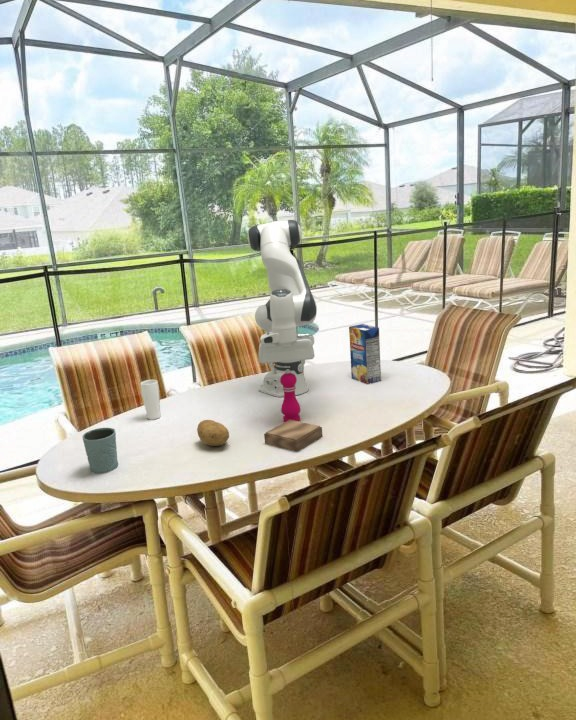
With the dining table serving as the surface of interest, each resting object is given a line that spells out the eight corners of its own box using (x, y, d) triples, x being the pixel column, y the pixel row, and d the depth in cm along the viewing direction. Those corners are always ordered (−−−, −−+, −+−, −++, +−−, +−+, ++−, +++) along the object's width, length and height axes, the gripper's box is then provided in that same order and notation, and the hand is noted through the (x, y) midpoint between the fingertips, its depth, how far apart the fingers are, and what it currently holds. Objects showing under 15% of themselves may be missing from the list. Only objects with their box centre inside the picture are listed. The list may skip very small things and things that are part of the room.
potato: (213, 455, 184) (210, 432, 182) (192, 443, 194) (189, 422, 192) (238, 445, 189) (235, 423, 187) (216, 435, 200) (213, 414, 198)
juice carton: (351, 378, 253) (348, 326, 247) (365, 375, 256) (362, 323, 250) (367, 384, 242) (364, 330, 236) (381, 380, 246) (379, 327, 240)
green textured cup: (100, 460, 187) (94, 426, 184) (127, 461, 184) (121, 427, 181) (82, 474, 177) (75, 439, 174) (109, 476, 174) (103, 440, 171)
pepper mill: (299, 424, 204) (295, 371, 199) (280, 424, 205) (275, 372, 200) (302, 417, 210) (299, 366, 205) (284, 417, 212) (279, 366, 207)
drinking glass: (166, 415, 225) (161, 379, 221) (155, 421, 219) (150, 385, 215) (152, 414, 227) (147, 378, 224) (142, 420, 222) (136, 384, 218)
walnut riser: (265, 443, 189) (263, 432, 188) (290, 429, 200) (289, 419, 199) (297, 452, 181) (296, 440, 179) (322, 436, 191) (321, 425, 190)
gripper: (313, 331, 203) (315, 368, 206) (256, 336, 203) (260, 372, 206) (314, 334, 196) (316, 372, 200) (256, 339, 196) (259, 377, 200)
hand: (287, 372), depth 203 cm, fingers open, 8 cm apart
